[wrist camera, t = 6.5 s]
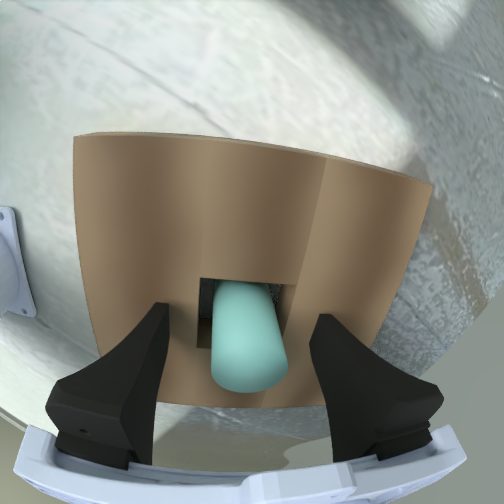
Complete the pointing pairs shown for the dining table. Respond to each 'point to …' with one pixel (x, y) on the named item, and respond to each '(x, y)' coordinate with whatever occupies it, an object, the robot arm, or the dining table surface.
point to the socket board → (237, 246)
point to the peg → (246, 337)
